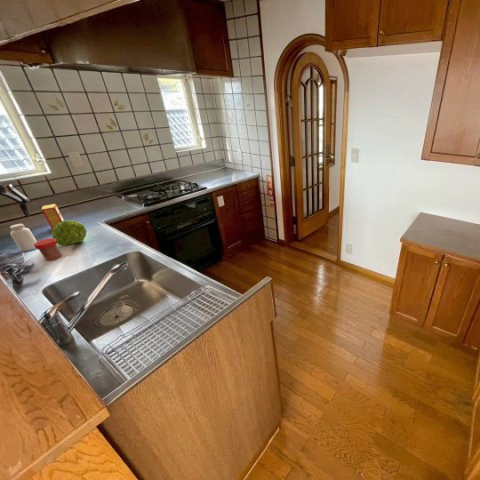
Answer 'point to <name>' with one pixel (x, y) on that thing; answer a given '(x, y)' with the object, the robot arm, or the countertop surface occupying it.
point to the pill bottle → (23, 237)
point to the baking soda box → (52, 214)
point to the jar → (51, 253)
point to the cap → (45, 243)
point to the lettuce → (68, 232)
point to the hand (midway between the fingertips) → (10, 218)
